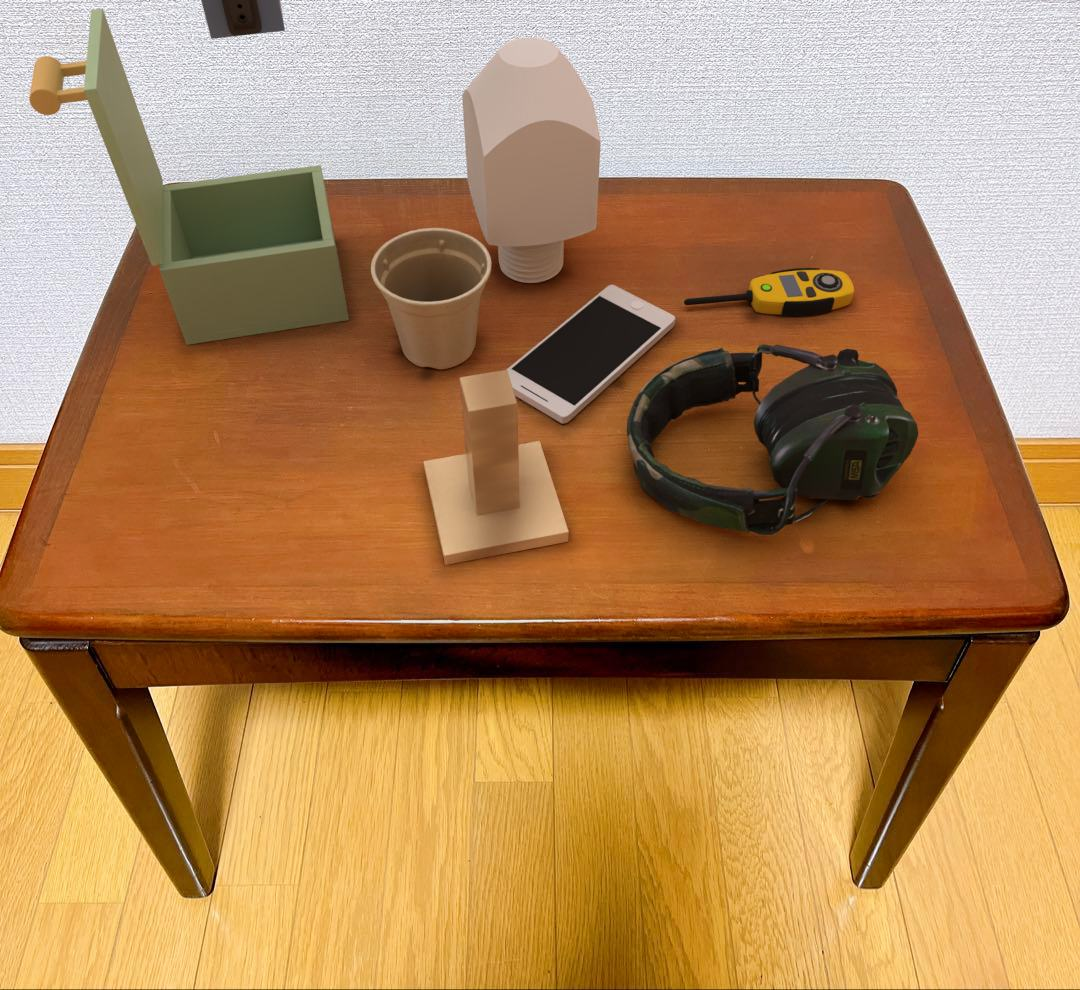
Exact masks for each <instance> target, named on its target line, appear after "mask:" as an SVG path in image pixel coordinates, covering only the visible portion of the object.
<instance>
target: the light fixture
mask: <svg viewBox="0 0 1080 990" xmlns="http://www.w3.org/2000/svg"><path fill="white" fill-rule="evenodd" d="M461 94H462V95H461V98H462V99H461V100H462V114H463V115H462V116H463V131H464V144H465V146H464V147H465V162H466V163H465V164H466V176H467V185H468V190H469V193H470V197H471V200H472V204H473V208H474V211H475V215H476V218H477V221H478V223H479V226H480V229H481V232H482V234H483V237H484V239H485V241H486V243H487V245H488V246H496V247H497V250H498V251H497V252H498V253H497V254H498V255H497V256H498V263H499V267H500V270H501V272H502V273H503V274H504V275H505V276H506V277H507V278H509V279H511V280H514V281H515V282H516V281H517V282H519V283H524V284H537V283H542V282H546V281H547V280H550V279H552V278H555V277H556V276H557V275H558V274H559V273H560V272H561V270H562V268H563V267H564V248H565V247H564V245H565V244H564V243H565V242H564V241H566V240H571V239H573V238H576V237H580V236H583V235H585V234H587V233H590V232H593V231H595V230H597V221H598V201H599V183H600V181H599V180H600V161H601V144H602V143H601V142H602V141H601V135H600V129H599V125H598V120H597V114H596V109H595V105H594V100H593V99H592V97H591V95H590V93H589V91H588V90H587V88H586V86H585V84H584V82H583V81H582V79H581V77H580V76H579V74H578V72H577V71H576V69H575V68H574V67H573V65H572V63H571V62H570V61H569V59H568V58H567V57H566V56H565V55H564V53H563V52H562V51H561V50H560V49H559V48H558V47H557V46H556V45H555V44H554V43H552V42H551V41H549V40H547V39H543V38H540V37H539V38H537V37H520V38H515V39H513V40H509V41H507V42H505V43H504V44H503V45H502V46H500V48H499V49H498V50H497V51H496V52H495V54H494V55H493V56H492V57H491V59H490V60H489V61H488V62H487V63H486V64H485V65H484V66H483V68H482V69H481V70H480V71H479V72H478V74H477V75H476V76H475V77H474V78H473V80H472V81H471V82H470V84H468V86H467V87H466V88H465V89H464V90H463V92H462V93H461Z"/></svg>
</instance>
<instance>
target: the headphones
mask: <svg viewBox="0 0 1080 990" xmlns="http://www.w3.org/2000/svg"><path fill="white" fill-rule="evenodd" d="M763 354H765V355H772V356H775V357H776V358H777V357H780V358H781V357H782V358H785V359H786V358H787V359H791V360H793V361H796V362H800V363H801V364H805V365H806V364H807V366H805V367H803V368H801V369H799V370H797V371H795V372H793V373H792V374H791V375H789V376H788V377H786V378H784V379H783V380H782V381H779V383H777V384H775V385H774V386H773V387H772V388H771V389H770V390H769V392H768V393H767V394H766V395H765V396H764V397H763V399H760V398H759V397H758V396H757V394H756V393H758V392H759V391H760V379H759V376H760V373H761V370H762V368H763V367H762V366H763ZM751 392H752V395H753V398H754V400H755V401H756V402H757V404H758V406H757V407H756V410H755V413H754V414H755V415H754V418H753V429H754V433H755V435H756V437H757V439H758V441H759V443H760V444H761V445H763V446H764V447H765V449H766V451H767V454H768V457H769V463H768V464H769V468H770V472H771V475H772V478H773V480H774V482H775V483H776V484H777V485H778V486H779V488H777V489H767V490H766V489H765V490H754V489H753V488H751V487H743V488H738V487H730V486H723V485H714V484H706V483H705V482H704V483H703V482H702V481H700V480H699V479H697V478H694V477H689V476H685V475H683V474H681V473H678V472H675V471H673V470H672V469H670V467H668V466H667V465H666V464H664V463H661V462H660V461H658V460H657V459H656V458H655V454H654V450H653V447H652V444H653V443H654V441H656V439H657V437H658V436H660V434H661V433H662V432H663V431H664V429H666V427H667V426H668V425H669V424H670V423H671V421H673V420H675V421H676V420H677V419H678V418H680V417H682V415H683V414H684V412H687V411H689V410H691V409H693V408H700V407H701V408H702V407H707V406H712V405H717V404H720V403H724V402H729V401H730V400H732V399H736V396H737V395H739V394H741V393H751ZM918 428H919V427H918V423H917V421H916V420H915V418H914V416H913V415H912V414H911V412H909V411H908V410H907V409H905V407H904V405H903V403H902V402H901V400H900V399H899V397H898V389H897V386H896V384H895V382H894V381H893V378H892V377H891V376H890V375H889V373H888V372H887V370H886V369H885V368H883V367H882V366H880V365H879V364H878V363H876V362H873V361H872V362H868V361H865V360H861V359H859V352H858V350H857V349H854V348H845V349H842V350H840V351H839V352H838V354H837V356H836V355H835V354H828V355H824V356H823V355H821V354H819V353H816V352H813V351H810V350H805V349H801V348H796V347H791V346H786V345H781V344H774V345H772V344H771V345H770V344H764V343H763V344H759V345H758V347H757V349H756V352H729V350H725V349H724V348H723V347H719V348H714V349H711V350H707V351H703V352H700V353H698V354H695V355H692V356H691V355H690V356H689V357H686V358H683V359H681V360H679V361H676V362H674V363H672V364H669V365H667V366H666V367H665V368H663V369H662V370H661V371H659V372H658V373H656V374H654V376H652V377H651V378H650V379H649V380H648V381H647V382H646V383H645V384H644V385H643V387H642V388H641V389H640V390H639V392H638V394H637V396H636V397H635V400H634V401H633V404H632V405H631V408H630V409H629V413H628V416H627V421H626V437H627V444H628V449H629V452H630V456H631V458H632V461H633V462H632V463H633V470H634V473H635V476H636V478H637V480H638V482H639V485H640V487H641V489H642V491H644V492H645V493H646V494H647V495H649V496H650V497H651V498H653V499H654V500H655V501H656V502H657V503H659V504H660V505H662V506H663V507H664V508H665V509H666V510H668V511H670V512H672V513H675V514H679V515H681V516H684V517H687V518H688V519H691V520H694V521H696V522H698V523H700V524H703V525H705V526H706V525H707V526H711V527H715V528H721V529H726V530H731V531H732V530H733V531H737V532H738V531H739V532H743V533H750V532H752V533H754V534H757V535H760V536H773V535H775V534H777V533H778V532H780V531H781V530H782V529H784V528H785V527H786V526H790V525H793V524H794V523H797V522H799V521H801V520H804V519H805V518H808V517H809V516H811V515H812V514H813V513H815V512H816V511H817V510H819V509H820V508H821V507H822V506H823V505H825V503H827V502H828V501H829V500H837V501H839V500H840V501H857V500H858V499H859V498H860V497H861V498H863V499H866V500H869V499H870V500H871V499H874V498H876V496H877V495H878V494H879V493H881V492H882V490H883V489H884V488H885V487H886V486H887V485H888V483H889V482H890V481H891V480H892V478H893V477H894V476H895V475H896V473H897V472H898V471H899V470H900V468H901V467H902V466H903V464H904V463H905V462H906V460H907V459H908V458H909V457H910V456H911V454H912V452H913V449H914V447H915V445H916V444H917V441H918V437H919V429H918ZM798 496H799V497H801V498H802V497H803V498H806V499H816V500H817V499H819V500H821V501H820V502H819V503H817V504H815V505H814V506H812V507H811V508H810V509H808V510H807V511H805V512H803V513H801V514H799V515H797V516H796V505H795V503H796V502H797V498H798Z"/></svg>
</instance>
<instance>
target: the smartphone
mask: <svg viewBox="0 0 1080 990" xmlns="http://www.w3.org/2000/svg"><path fill="white" fill-rule="evenodd" d="M675 323H676V316H675V315H674V314H672V313H670V312H668V311H666V310H664V309H662V308H660V307H658V306H656V305H655V304H652V303H650V302H648V301H647V300H644V299H642V298H640V297H638V296H637V295H635V294H632V293H631V292H629V291H627V290H625V289H623V288H621V287H619V286H617V285H615V284H609V285H607V286H606V287H605V288H603V289H602V290H601V291H600V292H599V293H597V294H596V295H595V296H594V297H592V298H591V299H590V300H588V302H586V303H585V304H584V305H583V306H581V308H579V309H578V310H577V311H576V312H574V313H573V314H572V315H571V316H569V317H568V318H567V319H566V320H565V321H563V322H562V323H561V324H560V325H559V326H558V327H556V328H555V329H554V330H552V331H551V332H550V333H549V334H548V335H547V336H545V337H544V338H543V339H542V340H540V341H539V342H538V343H537V344H536V345H534V346H533V347H532V348H530V349H529V350H528V351H527V352H526V353H524V355H522V356H521V357H520V358H519V359H518V360H516V361H515V362H514V363H513V364H511V365H510V366H509V367H508V368H506V370H507V372H508V375H509V378H510V381H511V384H512V388H513V391H514V394H515V397H516V398H518V399H520V400H522V401H523V402H525V403H526V404H528V405H530V406H531V407H533V408H535V409H537V410H538V411H539V412H542V413H543V414H544V415H547V416H548V417H550V418H552V419H553V420H555V421H557V422H558V423H560V424H567V423H570V421H571V420H573V418H575V417H576V416H577V415H578V414H579V413H580V412H581V411H582V410H584V408H586V407H587V406H588V405H589V404H590V403H591V402H592V401H593V400H594V399H596V398H597V397H598V396H599V395H600V394H602V392H603V391H604V390H606V389H607V388H608V387H609V386H610V385H611V384H613V382H614V381H616V380H617V379H618V378H619V377H620V376H621V375H622V374H623V373H625V371H626V370H628V369H629V368H630V367H631V366H632V365H633V364H635V362H636V361H638V360H639V359H640V358H641V357H642V356H643V355H644V354H646V352H648V351H649V350H650V349H651V348H652V347H654V345H655V344H657V342H659V341H660V340H661V339H662V338H663V337H664V336H665V335H666V334H668V333H669V332H670V331H671V330H672V329H673V328H674V327H675Z"/></svg>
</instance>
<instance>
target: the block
mask: <svg viewBox="0 0 1080 990" xmlns="http://www.w3.org/2000/svg"><path fill="white" fill-rule="evenodd" d="M200 1H201V5H202V9H203V14H204V17H205V21H206V25H207V28H208V33H209V37H210V39H211V40H213V39H223V38H232V37H235V36H234V35H232V34H231V33H230V31H229V29H228V25H227V21H226V16H225V12H224V8H223V4H222V0H200ZM257 5H258V9H259V14H260V18H261V24H262V30H261V31H260V32H259V33H258V34H259V35H260V34H267V33H269V34H270V33H277V32H285V30H286V28H285V21H284V14H283V8H282V2H281V0H257ZM258 34H257V35H258Z"/></svg>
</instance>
